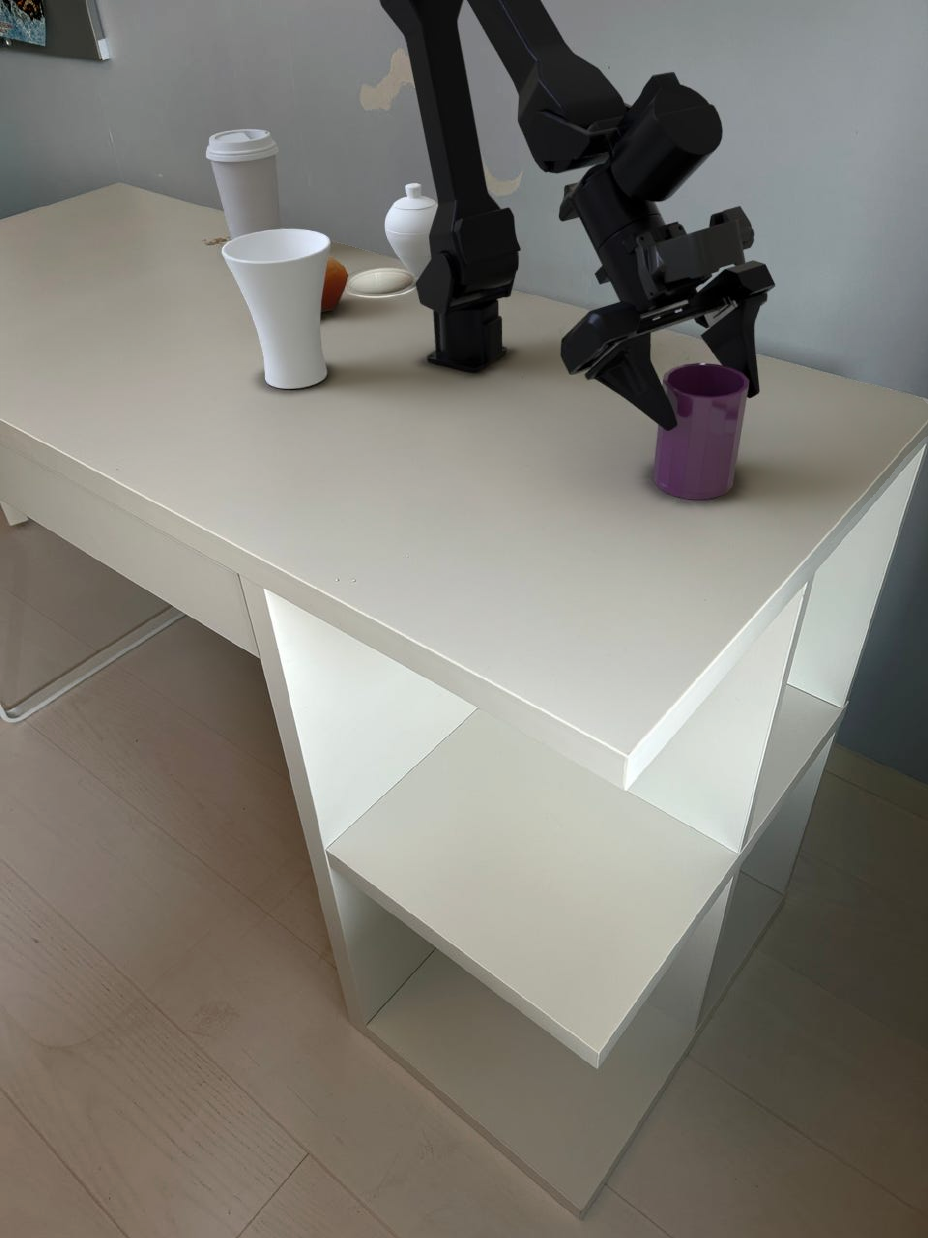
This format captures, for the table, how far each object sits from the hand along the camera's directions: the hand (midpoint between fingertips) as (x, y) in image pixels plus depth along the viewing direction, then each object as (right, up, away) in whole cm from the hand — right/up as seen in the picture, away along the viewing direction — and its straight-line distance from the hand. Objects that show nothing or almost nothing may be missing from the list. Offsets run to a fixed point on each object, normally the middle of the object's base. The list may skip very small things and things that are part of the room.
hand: (714, 411), depth 75 cm
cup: (-38, +9, +25) cm, 46 cm away
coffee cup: (-49, +35, +58) cm, 84 cm away
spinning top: (-26, +26, +45) cm, 58 cm away
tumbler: (-1, -5, +5) cm, 7 cm away
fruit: (-38, +21, +40) cm, 59 cm away
